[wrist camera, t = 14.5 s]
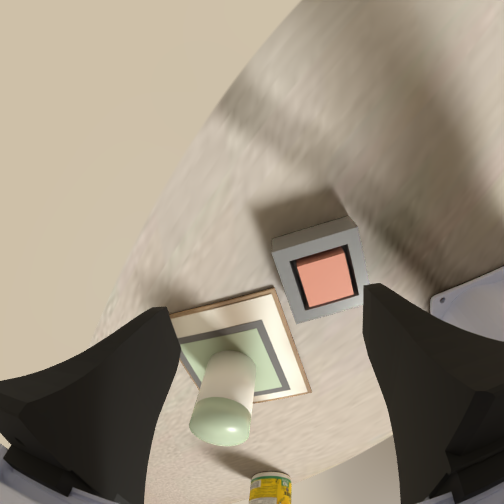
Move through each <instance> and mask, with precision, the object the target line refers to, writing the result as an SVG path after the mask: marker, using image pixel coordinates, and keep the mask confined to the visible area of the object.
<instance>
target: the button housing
mask: <svg viewBox="0 0 504 504" xmlns="http://www.w3.org/2000/svg"><path fill="white" fill-rule="evenodd" d="M339 246H341V247H342V249H343V251H344V254H345V258H346V262H347V266H348V270H349V275H350V279H351V284H352V288H353V293H354V294H353V295H350V296H347V297H343V298H340V299H336V300H333V301H330V302H326V303H323V304H319V305H316V306H312V307H309V304H308V301H307V297H306V294H305V291H304V288H303V285H302V281H301V278H300V275H299V272H298V269H297V263H296V259H299V258H302V257H305V256H309V255H312V254H316V253H319V252H322V251H326V250H329V249H332V248H336V247H339ZM271 253H272V256H273V259H274V262H275V265H276V267H277V270H278V273H279V276H280V279H281V282H282V285H283V288H284V290H285V293H286V296H287V299H288V302H289V305H290V308H291V311H292V314H293V316H294V319H295V322H296V324H298V323H302V322H306V321H310V320H313V319H317V318H321V317H324V316H328V315H331V314H335V313H338V312H342V311H345V310H349V309H352V308H355V307H358V306H362V305H363V285H370V281H369V276H368V271H367V266H366V261H365V256H364V252H363V247H362V243H361V238H360V234H359V229H358V226H357V225H356V224H355V223H354V221H353V220H352V219H351V218H350V217H349V216H346V217H343V218H340V219H336V220H333V221H330V222H326V223H323V224H320V225H316V226H313V227H310V228H306V229H303V230H300V231H297V232H293V233H290V234H287V235H283V236H280V237H277V238H273V239H272V250H271Z"/></svg>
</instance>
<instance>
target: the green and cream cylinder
mask: <svg viewBox="0 0 504 504" xmlns="http://www.w3.org/2000/svg"><path fill="white" fill-rule="evenodd" d="M255 379H256V365H255V363H254V362H253V360H252V359H251V358H249V357H248V356H247V355H245V354H243V353H240V352H237V351H231V350H226V351H220V352H217V353H215V354H214V355H212V356H211V357H210V359H209V361H208V364H207V367H206V371H205V374H204V377H203V380H202V384H201V387H200V390H199V394H198V397H197V400H196V403H195V407H194V410H193V413H192V417H191V420H190V423H189V427H190V430H191V432H192V433H193V434H194V435H195V436H196V437H198V438H199V439H201V440H203V441H205V442H207V443H210V444H213V445H218V446H235V445H239V444H242V443H243V442H245V441H246V440H247V439H248V437H249V431H250V422H251V414H252V405H253V397H254V388H255Z"/></svg>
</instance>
